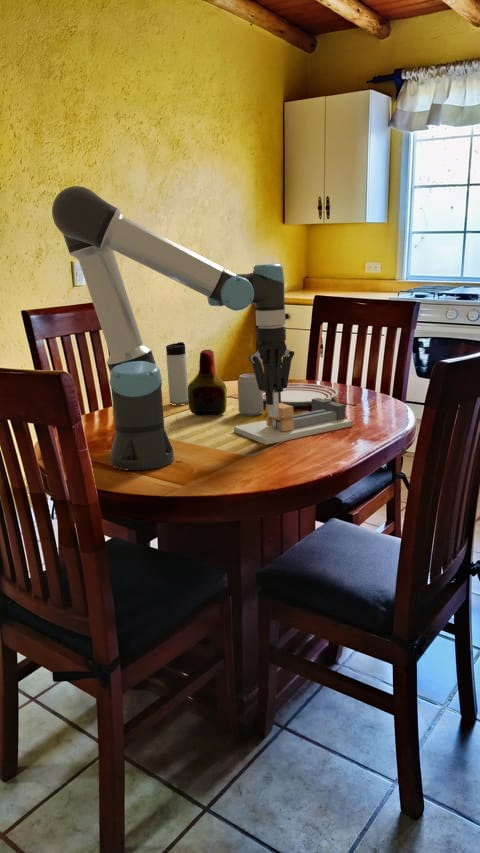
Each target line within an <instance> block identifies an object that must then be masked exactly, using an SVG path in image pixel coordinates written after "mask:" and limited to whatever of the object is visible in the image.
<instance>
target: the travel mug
mask: <svg viewBox="0 0 480 853" xmlns="http://www.w3.org/2000/svg"><path fill="white" fill-rule="evenodd" d="M165 350H166V355H165V356H166V367H167V369H166V370H167V384H168V396H169V398H168V399H169V404H170V403H172V404H176V405H181V404H187V403H188V404H189V402H188V385H189V382H188V371H187V368H188V367H187V356H186V354H187V353H186V344H185V342H181V341H179V342H177V343H176V342H175V343H171V344H170V343H169V344H168V345H166V346H165ZM188 404H187V405H188Z"/></svg>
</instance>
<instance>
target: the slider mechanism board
mask: <svg viewBox="0 0 480 853" xmlns="http://www.w3.org/2000/svg"><path fill="white" fill-rule="evenodd" d="M322 409H324V410H327V412H323V413H318V414H313V415H308V416H303V417H298V418H294V429H293V430H288V431H281V421H278V422H277V429H275V428H273V426H267V422H266V419H265V420H261V421H256V422H250V423H246V424H245V423H244V424H241V425H236V426H233V432H234V433H235V434H238V435H241V436H243V437H245V438H248V439H250V440H253V441H256V442H258V443H260V444H263V445H271V444H275V443H281V442H286V441H290V440H294V439H295V440H296V439H298V438H303V437H307V436H313V435H316V434H317V435H318V434H322V433H327V432H331V431H335V430H340V429H346V428H349V427H353V421H352V420H351V419H347V418H346V404H343V403H339V402H336V401H332V398H324V399H321V398H315V399H312V405H311V411H310V412H312V411H317V410H322ZM307 412H308V411H307ZM307 412H305V413H307ZM302 413H303V412H302ZM302 413H300V414H302Z"/></svg>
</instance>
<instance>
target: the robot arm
mask: <svg viewBox="0 0 480 853" xmlns="http://www.w3.org/2000/svg"><path fill="white" fill-rule="evenodd" d="M51 215H52V220H53V223H54V225H55V226H56V227H57V230H58V231H60V233H62V236H63V239H64V242H65V244H66V247H67V250H68V252H69V255H70V256H71V257H73V258H75V259H77V260H78V263H79V265H80V268H81V272H82V275H83V278H84V281H85V283H86V286H87V289H88V290H87V291H88V293H89V295H90V298H91V301H92V304H93V307H94V310H95V313H96V316H97V319H98V322H99V325H100V328H101V331H102V334H103V337H104V340H105V342H106V346H107V348H108V352H109V357H108V359H107V361H106V365H107V367H108V370H109V374H110V377H109V386H110V391H111V399H112V400H111V401H112V408H113V410H112V411H113V421H114V438H113V443H112V446H111V451H110V454H109V455H110V456H109V458H110V465H111V464H112V465H113V466H115V467H117V468H121V469H128V470H143V471H150V470H149V469H151V470H155V468H156V469H159V468H163V467H166V466H168V465H170V464H171V463H173V462H174V461H175V457H174V456H175V455H174V449H173V446H172V443H171V442H170V438H169V436H168V434H167V431H166V430H165V428H166V427H165V421H164V419H165V418H164V405H163V393H162V392H163V391H162V389H163V388H162V387H163V386H162V385H163V382H162V381H163V379H162V375H161V370H160V367H159V366H158V365H157V364H156V361H155V357H154V355H153V351H152V349H151V348H150V347H149V346H147V345H145V344H144V343H143V340H142V339H143V338H142V336H141V334H140V330H139V327H138V324H137V321H136V318H135V314H134V311H133V308H132V306H131V302H130V300H129V296H128V294H127V289H126V286H125V283H124V281H123V278H122V275H121V271H120V267H119V266H118V262H117V259H116V256H115V253H114V252H117V253H119V254H120V255H123V256H125V257H127V258H129V259H131V260H133V261H135V262H137V263H138V264H141V265H143V266H145V267H146V268H149V269H151V270H153V271H155V272H157V273H159V274H161V275H163V276H165V277H167V278H169V279H171V280H173V281H175V282H177V283H179V284H180V285H184V286H185V287H187V288H189V289H192V290H193V291H195V292H196V293H199V294H201V295H204V296H205V297H207V302H208V305H210V306H211V307H223V306H225V307H226V308H228V309H229V310H231V311H236V312H237V311H241V310H245V309H246V308H248V307H250V306H251V305H253V304H254V307H255V325H256V326H257V328H256V329H255V331H256V332H255V333H256V343H257V347H256V349H255V350H256V351H255V352H254V354H253V355H249V356H248V360H249V361H250V363H251V365H252V368H253V372H254V373H253V374H255V376H256V380H257V384H258V388H259V390H261V391H265V393H266V401H265V404H266V403H267V404H268V405H269V416H272V417H279V403H281V392H282V391H283V389H284V388H286V387H287V384H288V383H289V378H290V372H291V366H292V360H293V358H294V356H295V351H293V350H290V349H288V348H287V344H286V339H287V337H286V336H287V334H286V332H287V331H286V327H285V326H284V325H285V324H286V306H285V304H286V302H285V300H286V299H285V276H284V268H283V265H281V264H279V263H273V264H271V263H266V264H255V265H254V266H253V270H252V272H250V273H238V274H237V273H235V272H233V271H230V270H228V269H226V268H224V267H223V266H221V265H219V264H217V263H214V262H213V261H211V260H209V259H207V258H205V257H203V256H201V255H200V254H197V253H196V252H193V251H192V250H189V249H188V248H186V247H184V246H182V245H180V244H178V243H176V242H174V241H172V240H170V239H169V238H167V237H165V236H162V235H160V234H158V233H156V232H154V231H152V230H151V229H149V228H146V227H145V226H143V225H141V224H139V223H137V222H135V221H133V220H131V219H129V218H127V217H125V216H124V215H122V212H121V209H120V208H118V207H116V206H114V205H112V204H111V203H109V202H107V201H105V200H104V199H103V198H102V197H100V196H99V195H98V194H97V193H95V192H94V191H93V190H91V189H89V188H88V187H84V186H79V185H73V186H69V187H66V188H64V189H63V190H61V191H60V192H59V193H58V194H57V195H56V197H55V198H54V200H53V204H52V208H51ZM261 361H262V363H261ZM273 390H274V391H273Z"/></svg>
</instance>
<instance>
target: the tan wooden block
mask: <svg viewBox="0 0 480 853" xmlns="http://www.w3.org/2000/svg"><path fill="white" fill-rule="evenodd" d="M265 415H266V416H265V420H266V422H267V426H273V419H276V420H279V421H281V431H288V430H293V429H294V415H295V414H294V407H293V406H290V405H286V404H283V403H279V417H272V416H269V405H268V404H267V403H266V402H265Z"/></svg>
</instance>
